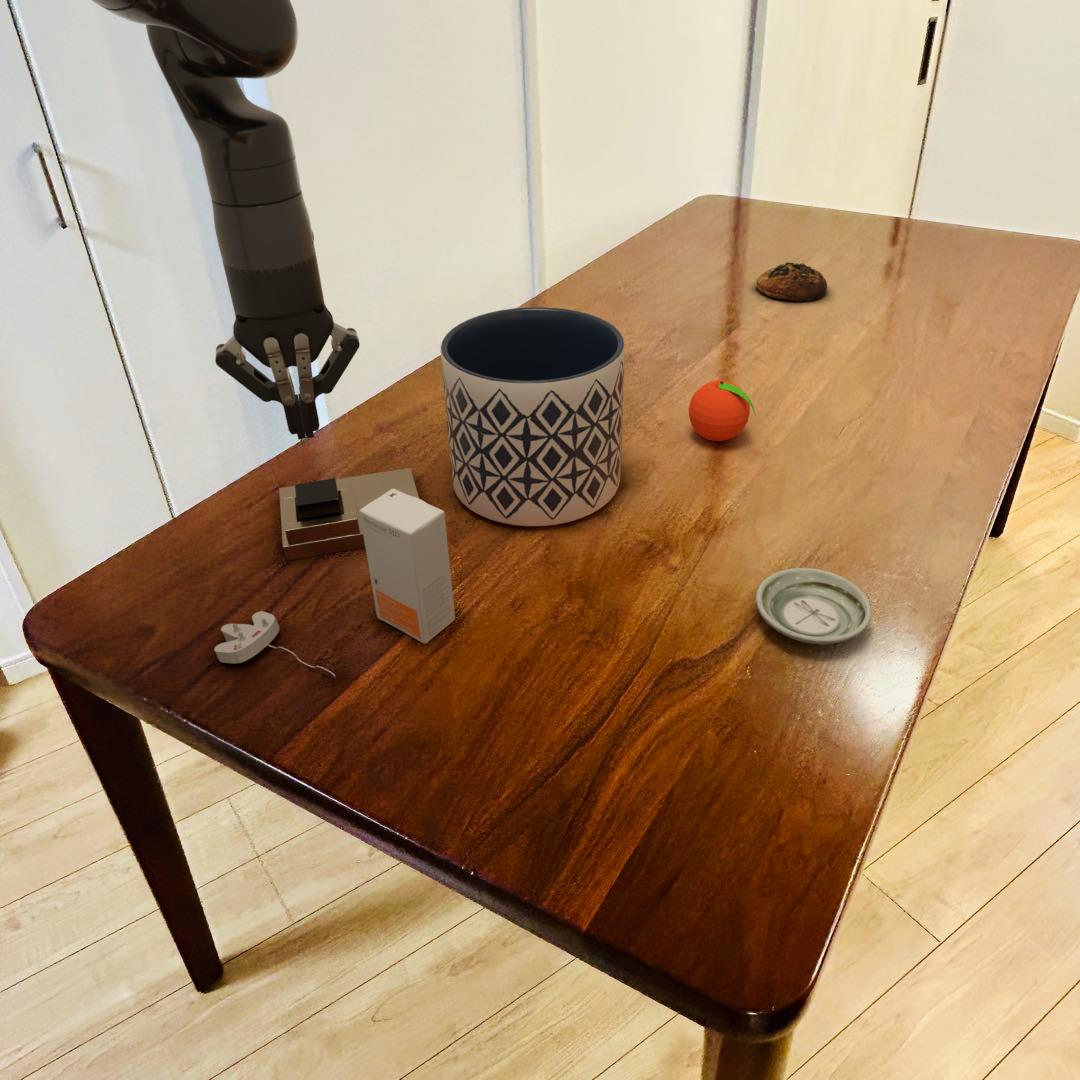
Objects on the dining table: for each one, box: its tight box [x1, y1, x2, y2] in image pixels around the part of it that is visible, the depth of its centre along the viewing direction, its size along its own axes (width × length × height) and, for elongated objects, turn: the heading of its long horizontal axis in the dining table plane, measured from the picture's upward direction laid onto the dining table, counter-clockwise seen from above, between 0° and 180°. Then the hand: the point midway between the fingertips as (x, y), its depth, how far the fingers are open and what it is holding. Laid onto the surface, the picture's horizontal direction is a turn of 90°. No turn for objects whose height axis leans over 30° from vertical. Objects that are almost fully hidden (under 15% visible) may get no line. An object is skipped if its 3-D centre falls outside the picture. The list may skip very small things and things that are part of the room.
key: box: [294, 477, 342, 522], centre depth 89 cm, size 4×4×2 cm
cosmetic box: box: [360, 489, 456, 645], centre depth 77 cm, size 6×4×12 cm
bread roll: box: [754, 262, 828, 303], centre depth 141 cm, size 11×11×5 cm
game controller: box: [213, 610, 337, 679], centre depth 77 cm, size 6×12×3 cm, turn 80°
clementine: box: [688, 379, 756, 442], centre depth 103 cm, size 8×7×7 cm
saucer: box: [755, 567, 873, 645], centre depth 78 cm, size 10×10×2 cm
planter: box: [440, 306, 626, 527], centre depth 93 cm, size 18×18×16 cm
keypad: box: [278, 467, 420, 562], centre depth 93 cm, size 14×11×4 cm
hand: (306, 434), depth 85 cm, fingers closed
